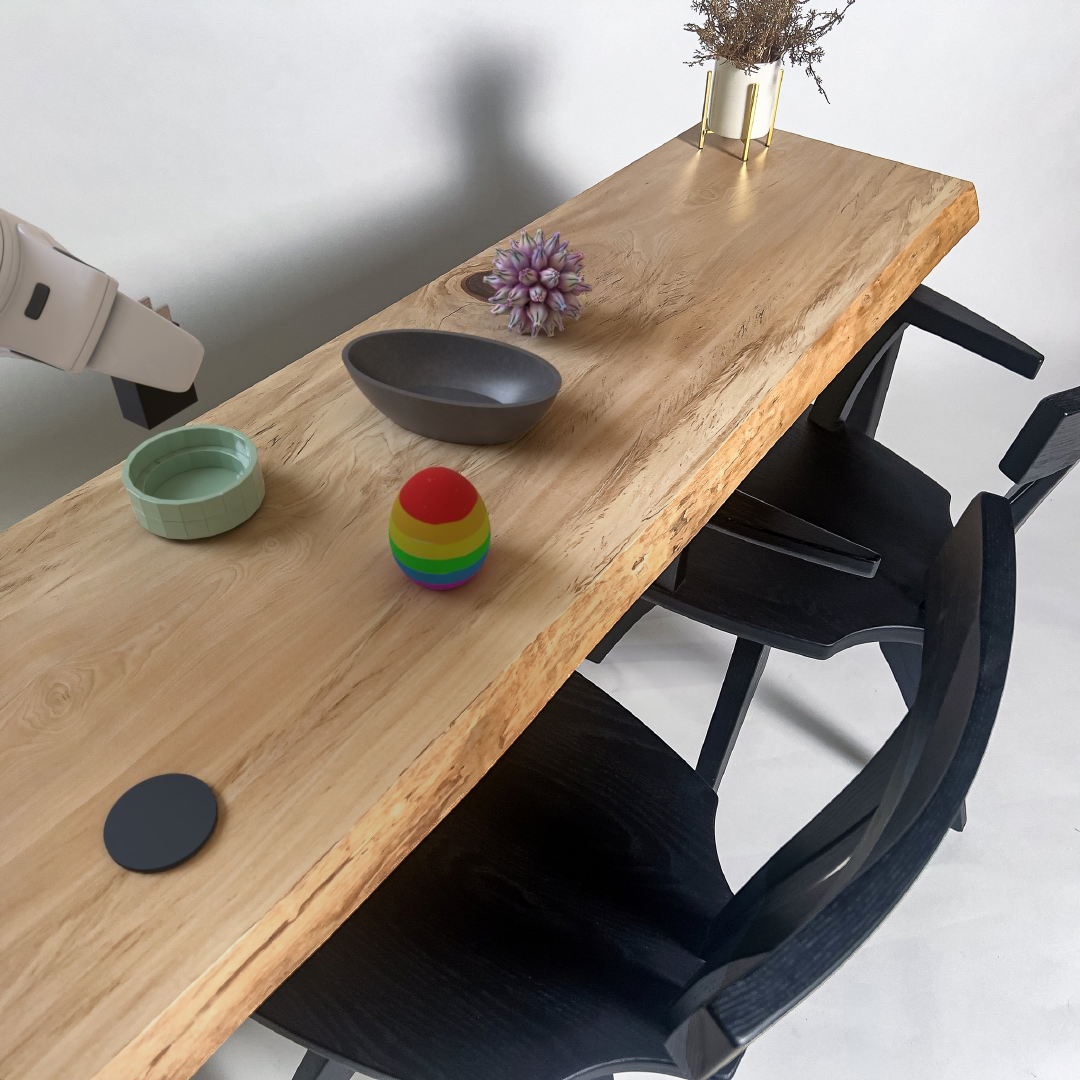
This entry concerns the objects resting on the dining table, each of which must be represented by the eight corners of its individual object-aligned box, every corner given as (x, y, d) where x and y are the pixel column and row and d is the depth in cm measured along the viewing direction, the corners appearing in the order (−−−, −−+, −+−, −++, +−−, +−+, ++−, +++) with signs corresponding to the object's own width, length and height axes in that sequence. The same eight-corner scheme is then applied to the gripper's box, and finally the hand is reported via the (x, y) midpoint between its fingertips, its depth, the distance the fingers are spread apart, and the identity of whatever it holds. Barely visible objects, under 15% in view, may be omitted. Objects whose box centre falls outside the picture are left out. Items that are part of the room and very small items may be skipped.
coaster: (146, 895, 59) (144, 891, 59) (83, 828, 62) (81, 824, 62) (240, 818, 63) (239, 813, 63) (176, 759, 66) (174, 754, 66)
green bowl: (185, 563, 80) (173, 522, 77) (110, 506, 86) (95, 466, 83) (292, 498, 87) (284, 458, 84) (215, 448, 92) (205, 409, 89)
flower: (585, 322, 114) (590, 356, 104) (483, 316, 114) (478, 350, 103) (594, 221, 108) (600, 247, 98) (486, 215, 108) (482, 240, 98)
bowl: (538, 478, 90) (539, 423, 85) (325, 430, 95) (316, 376, 90) (576, 408, 98) (579, 355, 94) (379, 368, 103) (373, 315, 99)
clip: (149, 431, 75) (119, 331, 69) (123, 418, 76) (92, 319, 70) (198, 401, 78) (174, 303, 72) (172, 389, 79) (146, 293, 73)
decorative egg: (372, 569, 80) (359, 474, 74) (443, 522, 85) (437, 428, 78) (440, 618, 76) (434, 522, 70) (511, 566, 81) (511, 471, 74)
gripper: (-123, 283, 65) (48, 348, 78) (78, 377, 57) (231, 432, 70) (-87, 197, 65) (78, 276, 78) (120, 279, 57) (265, 352, 70)
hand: (152, 351), depth 74 cm, fingers closed on clip, 3 cm apart
